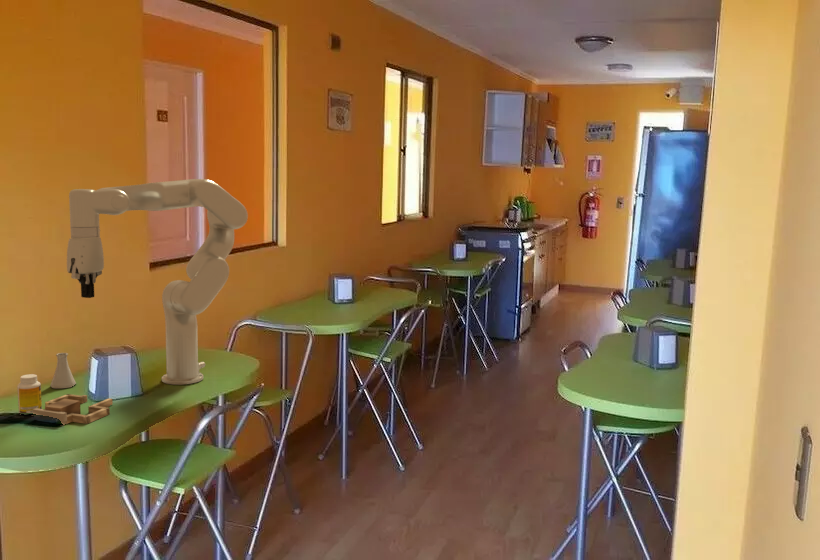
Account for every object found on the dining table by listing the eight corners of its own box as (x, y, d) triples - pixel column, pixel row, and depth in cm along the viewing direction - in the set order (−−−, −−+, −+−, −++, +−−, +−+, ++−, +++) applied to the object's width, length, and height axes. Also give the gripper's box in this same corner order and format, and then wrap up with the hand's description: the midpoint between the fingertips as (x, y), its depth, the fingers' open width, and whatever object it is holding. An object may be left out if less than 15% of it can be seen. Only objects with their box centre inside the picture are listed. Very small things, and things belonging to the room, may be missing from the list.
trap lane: (70, 399, 211) (69, 389, 210) (126, 407, 205) (126, 396, 205) (18, 418, 194) (18, 407, 193) (78, 427, 188) (78, 416, 187)
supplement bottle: (44, 413, 198) (42, 376, 197) (21, 417, 195) (19, 380, 193) (39, 408, 202) (37, 372, 201) (16, 412, 199) (14, 375, 197)
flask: (49, 390, 219) (47, 357, 218) (51, 383, 226) (49, 352, 225) (75, 388, 222) (74, 355, 221) (77, 381, 229) (75, 350, 227)
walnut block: (65, 413, 199) (64, 398, 199) (80, 415, 198) (80, 400, 197) (45, 421, 193) (44, 406, 192) (61, 423, 191) (60, 408, 191)
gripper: (93, 230, 216) (95, 292, 219) (54, 234, 202) (57, 300, 205) (114, 232, 214) (116, 294, 217) (76, 235, 200) (79, 302, 202)
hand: (87, 297), depth 211 cm, fingers closed
